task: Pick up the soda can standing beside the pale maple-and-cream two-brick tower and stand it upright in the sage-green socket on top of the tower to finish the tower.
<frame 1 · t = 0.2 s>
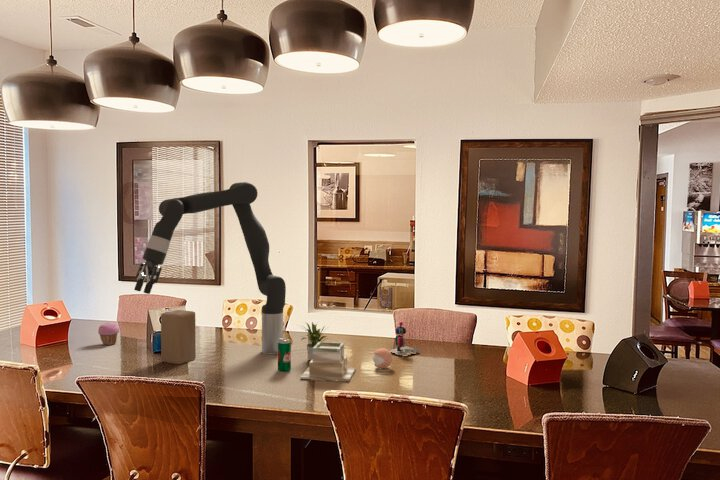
hand: (141, 292, 204), 31 cm above the table, fingers open, 8 cm apart
block: (178, 361, 227), on the table
statue: (404, 354, 242), on the table
toy ball: (382, 369, 218), on the table
tower base: (328, 374, 209), on the table
soda can: (284, 370, 215), on the table
cupcake: (108, 344, 254), on the table
house plant: (312, 360, 231), on the table
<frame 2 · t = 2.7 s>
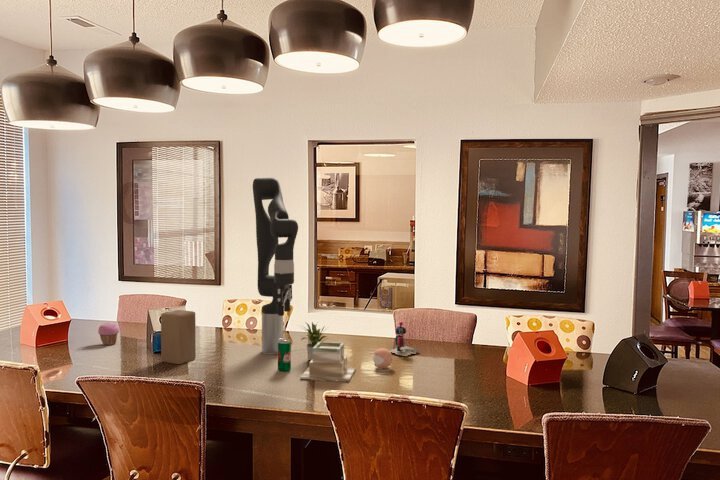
hand: (284, 313, 214), 22 cm above the table, fingers open, 8 cm apart
nothing on the table moved.
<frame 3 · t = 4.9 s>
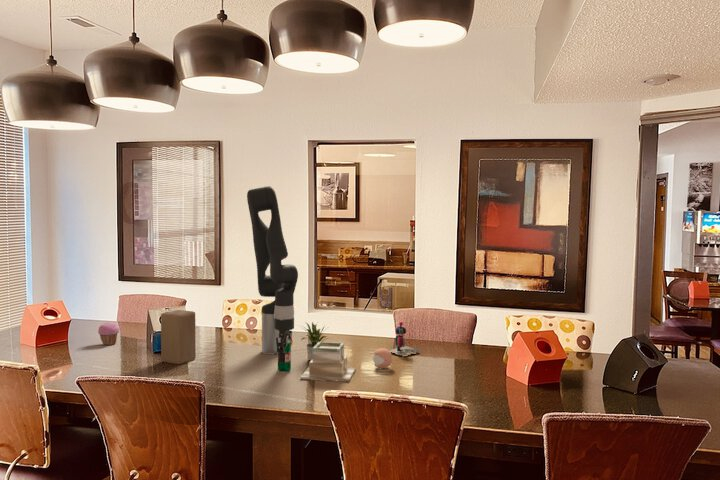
hand: (284, 360, 215), 4 cm above the table, fingers closed on soda can, 5 cm apart
soda can: (284, 370, 215), on the table, touching gripper
everything else where it was.
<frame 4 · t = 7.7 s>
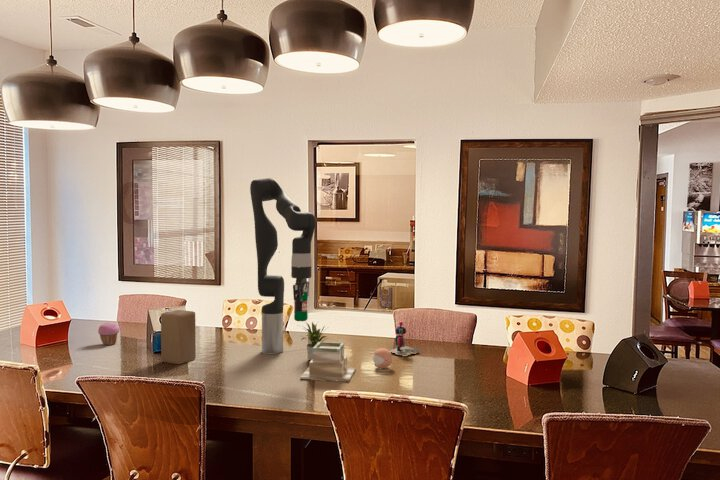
hand: (301, 309, 210), 24 cm above the table, fingers closed on soda can, 5 cm apart
soda can: (300, 320, 211), point 20 cm above the table, touching gripper
everything else where it was.
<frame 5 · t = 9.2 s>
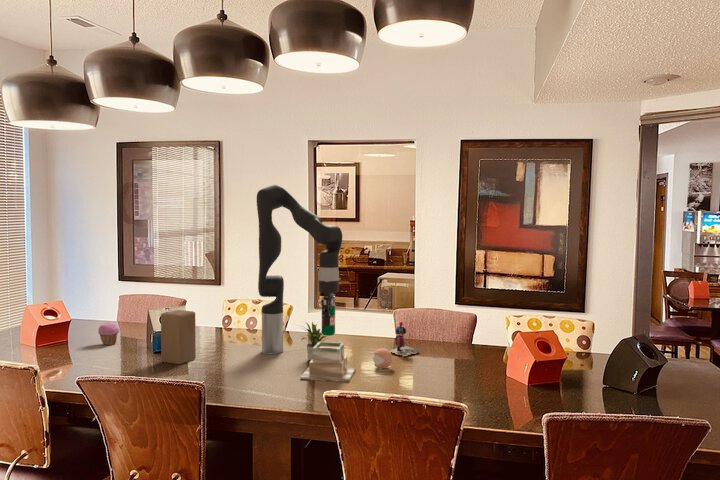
hand: (328, 324, 208), 19 cm above the table, fingers closed on soda can, 5 cm apart
soda can: (328, 335, 209), point 15 cm above the table, touching gripper
everything else where it was.
when the fingers open (15 cm above the table, at t = 10.4 s): soda can stays where it is, resting on tower base.
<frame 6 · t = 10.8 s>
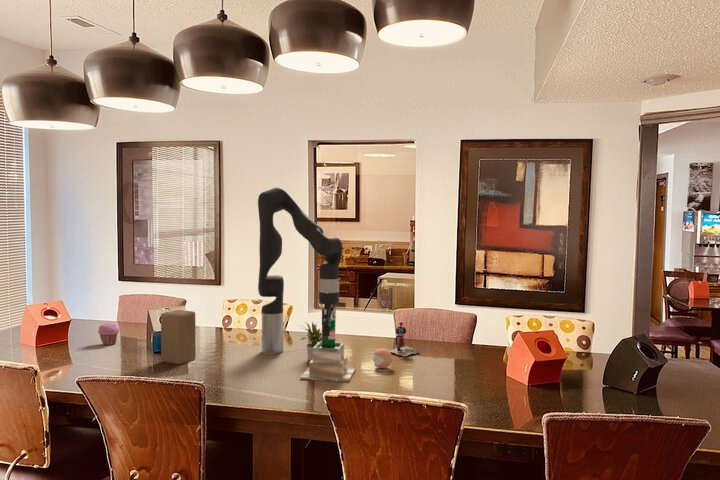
hand: (328, 333, 209), 16 cm above the table, fingers open, 8 cm apart
soda can: (328, 348, 209), point 10 cm above the table, touching tower base
everything else where it was.
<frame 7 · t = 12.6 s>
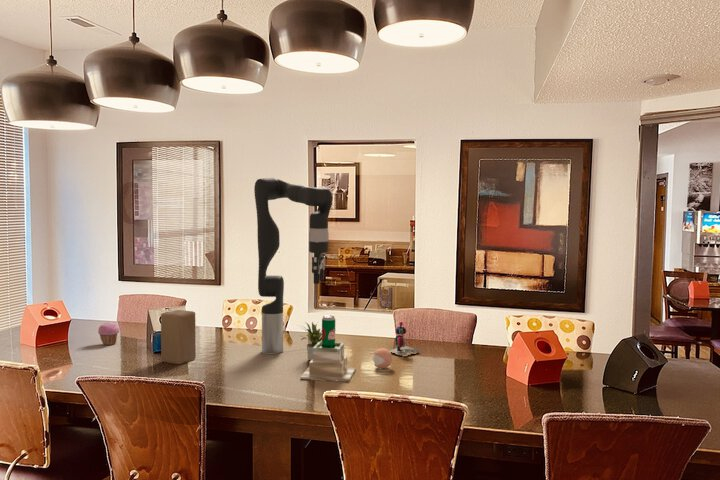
hand: (318, 281, 215), 34 cm above the table, fingers open, 8 cm apart
nothing on the table moved.
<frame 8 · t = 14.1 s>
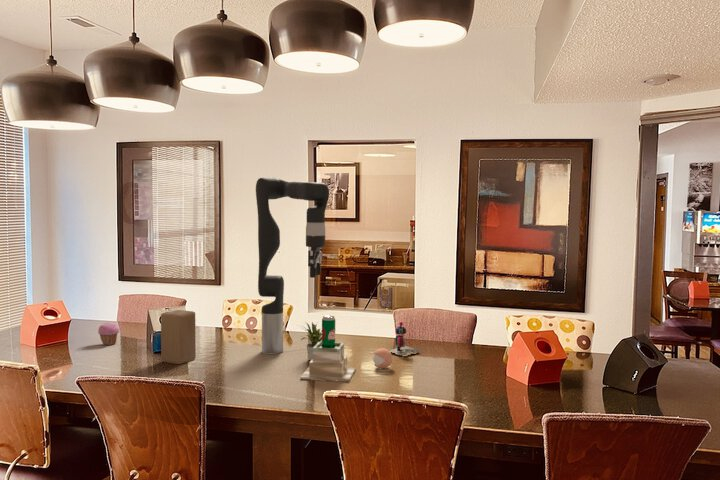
hand: (315, 276, 216), 36 cm above the table, fingers open, 8 cm apart
nothing on the table moved.
at the end: soda can 0.1 cm off-centre on the tower base, point 9.8 cm above the tower base's base; soda can tilted 0°; the gripper is holding nothing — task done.
